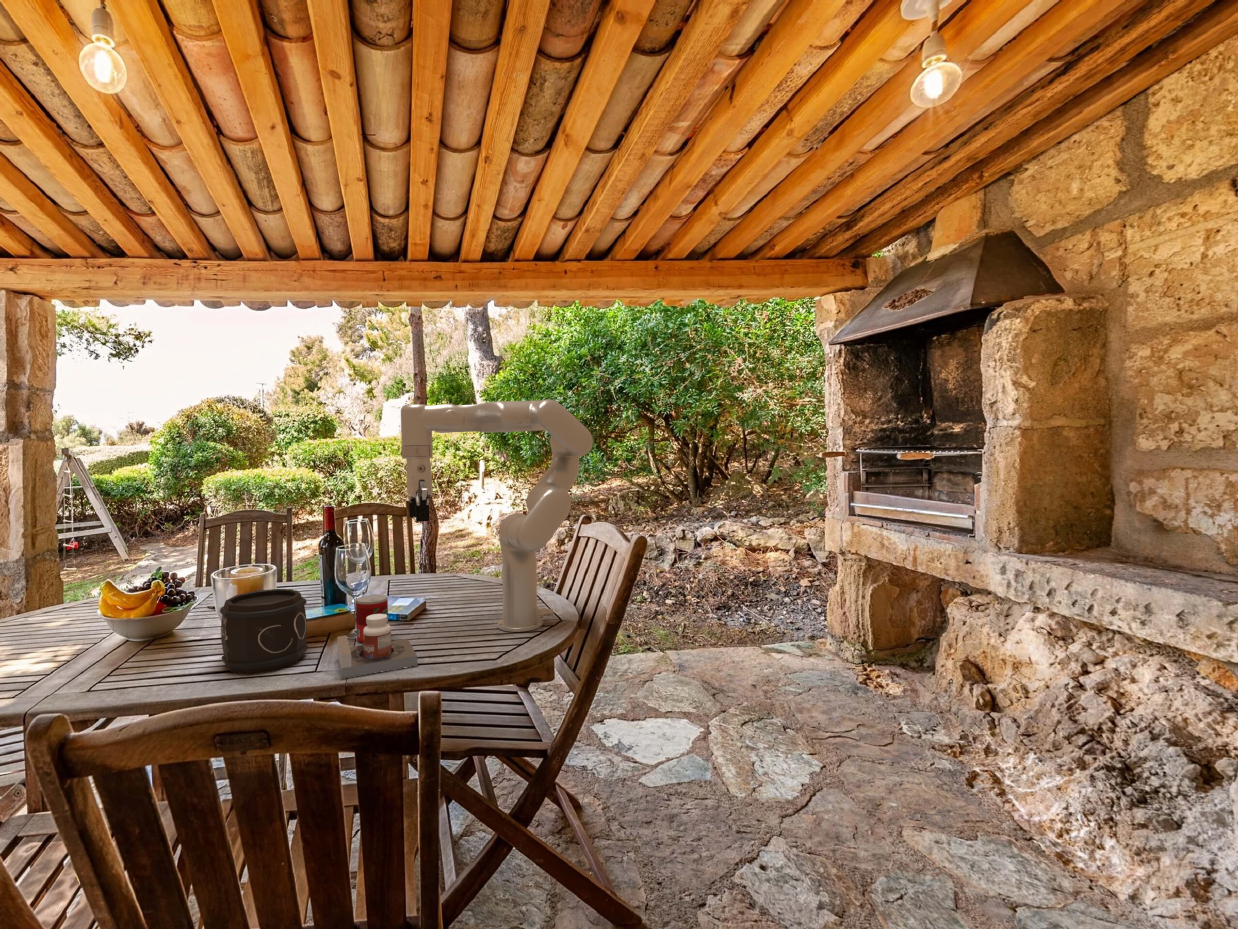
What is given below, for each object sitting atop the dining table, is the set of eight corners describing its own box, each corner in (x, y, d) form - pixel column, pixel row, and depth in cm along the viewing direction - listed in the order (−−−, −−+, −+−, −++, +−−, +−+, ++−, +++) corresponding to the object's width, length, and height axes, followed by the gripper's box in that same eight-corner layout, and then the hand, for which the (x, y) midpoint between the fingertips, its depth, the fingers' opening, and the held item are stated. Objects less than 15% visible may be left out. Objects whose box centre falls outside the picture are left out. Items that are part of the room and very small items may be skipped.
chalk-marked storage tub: (325, 650, 153) (324, 588, 152) (271, 678, 136) (269, 608, 135) (264, 646, 157) (262, 585, 156) (203, 672, 139) (200, 604, 138)
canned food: (377, 644, 157) (376, 602, 157) (350, 643, 159) (349, 601, 158) (394, 635, 165) (393, 595, 164) (367, 633, 166) (366, 593, 166)
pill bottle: (358, 663, 144) (357, 617, 144) (383, 656, 149) (382, 611, 148) (371, 669, 140) (370, 622, 140) (396, 662, 145) (395, 615, 144)
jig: (407, 648, 154) (407, 626, 154) (417, 666, 142) (416, 643, 142) (338, 659, 147) (337, 636, 147) (341, 679, 135) (341, 654, 134)
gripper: (439, 453, 151) (441, 522, 151) (426, 451, 166) (427, 514, 167) (407, 453, 147) (409, 524, 148) (396, 452, 162) (398, 516, 163)
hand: (419, 519), depth 157 cm, fingers open, 9 cm apart
